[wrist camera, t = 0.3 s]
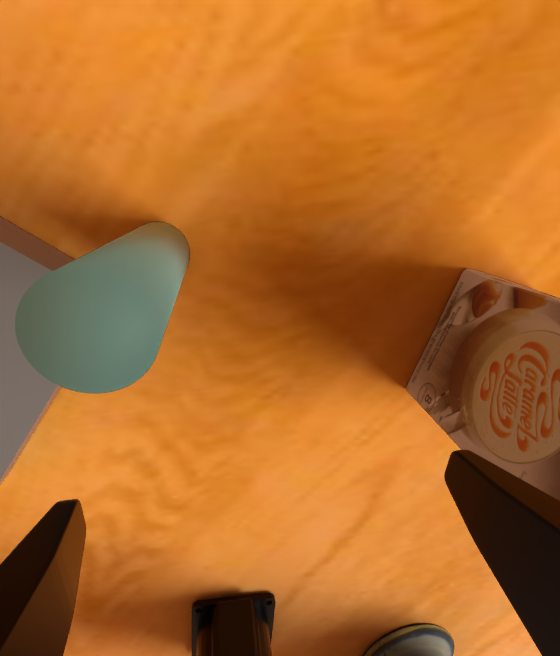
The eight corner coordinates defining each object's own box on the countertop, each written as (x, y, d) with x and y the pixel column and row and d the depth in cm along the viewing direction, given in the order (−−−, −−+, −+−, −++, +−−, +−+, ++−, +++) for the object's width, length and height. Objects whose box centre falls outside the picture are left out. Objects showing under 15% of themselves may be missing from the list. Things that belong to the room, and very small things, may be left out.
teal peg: (190, 282, 21) (161, 392, 10) (130, 280, 21) (25, 394, 9) (190, 223, 20) (158, 269, 9) (126, 219, 20) (4, 263, 8)
